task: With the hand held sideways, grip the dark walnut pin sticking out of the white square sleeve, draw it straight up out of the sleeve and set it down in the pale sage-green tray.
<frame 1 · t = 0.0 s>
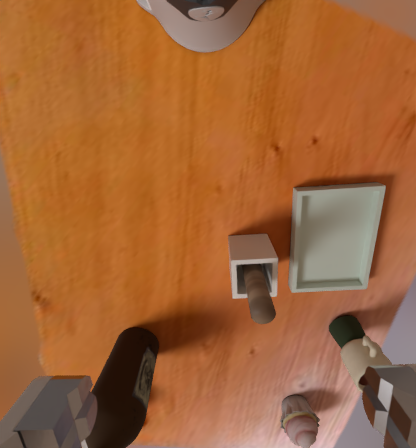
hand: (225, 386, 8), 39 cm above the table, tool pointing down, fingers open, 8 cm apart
olive oil: (139, 342, 60), on the table
character mug: (342, 324, 56), on the table
cupcake: (294, 402, 66), on the table
sage tray: (328, 237, 48), on the table
white square sleeve: (247, 251, 50), on the table
walnut pin: (248, 254, 49), point 1 cm above the table, touching white square sleeve
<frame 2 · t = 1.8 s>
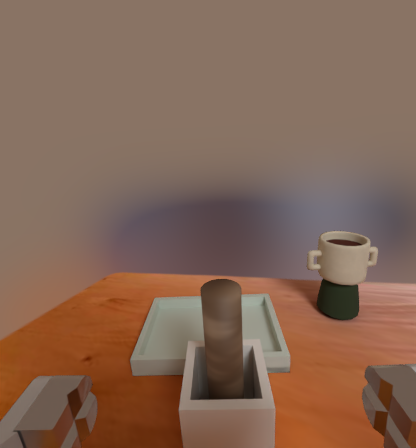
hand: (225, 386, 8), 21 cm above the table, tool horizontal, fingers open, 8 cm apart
character mug: (336, 312, 44), on the table
sage tray: (211, 335, 40), on the table
white square sleeve: (228, 442, 26), on the table
walnut pin: (228, 435, 25), point 1 cm above the table, touching white square sleeve
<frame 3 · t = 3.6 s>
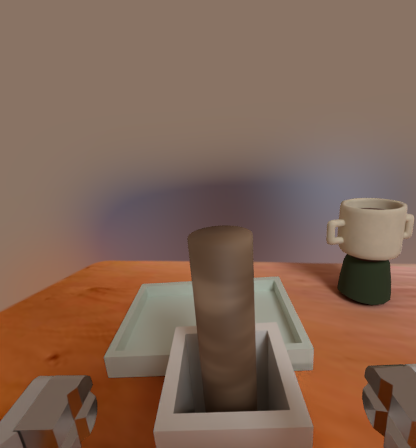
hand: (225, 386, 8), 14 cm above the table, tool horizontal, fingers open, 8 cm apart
character mug: (362, 296, 36), on the table
sage tray: (210, 326, 32), on the table
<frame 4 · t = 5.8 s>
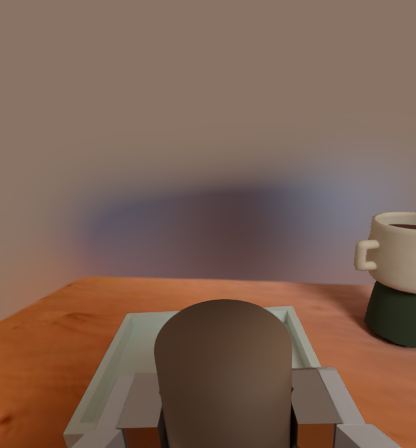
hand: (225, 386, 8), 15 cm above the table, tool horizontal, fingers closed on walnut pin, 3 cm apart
character mug: (396, 333, 29), on the table
sage tray: (208, 375, 26), on the table
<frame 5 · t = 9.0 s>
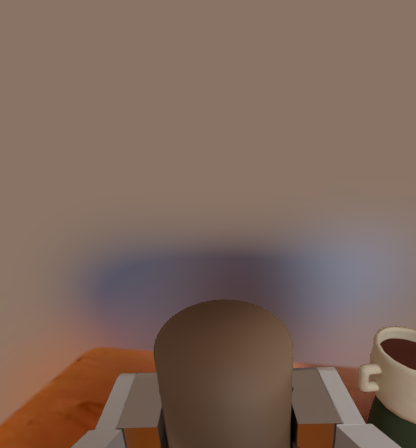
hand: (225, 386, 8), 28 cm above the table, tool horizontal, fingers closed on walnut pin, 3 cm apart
character mug: (397, 440, 31), on the table
when the fingers open (16 cm above the table, at t = 12.5 s): walnut pin drops 2 cm, resting on sage tray.
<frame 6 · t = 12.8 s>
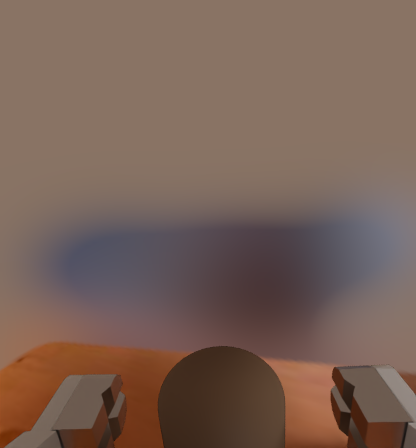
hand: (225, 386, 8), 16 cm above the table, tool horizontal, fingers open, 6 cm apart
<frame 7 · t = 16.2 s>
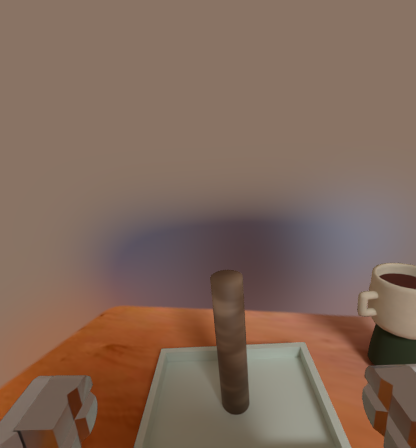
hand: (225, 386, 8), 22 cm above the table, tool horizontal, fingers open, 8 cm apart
character mug: (395, 366, 34), on the table
sage tray: (236, 406, 31), on the table
walnut pin: (235, 401, 30), point 1 cm above the table, touching sage tray
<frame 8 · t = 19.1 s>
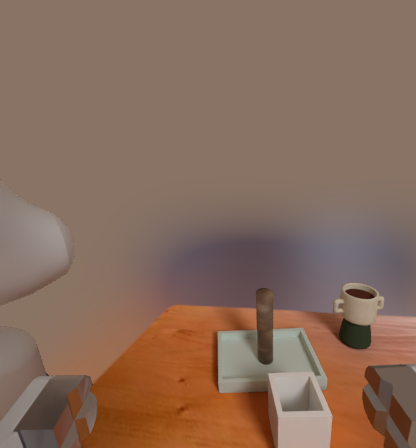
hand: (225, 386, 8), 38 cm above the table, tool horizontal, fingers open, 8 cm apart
character mug: (354, 341, 60), on the table
sage tray: (265, 361, 56), on the table
white square sleeve: (295, 436, 41), on the table
walnut pin: (265, 358, 55), point 1 cm above the table, touching sage tray
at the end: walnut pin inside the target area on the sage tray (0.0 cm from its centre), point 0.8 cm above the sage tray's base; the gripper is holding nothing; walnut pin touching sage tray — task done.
